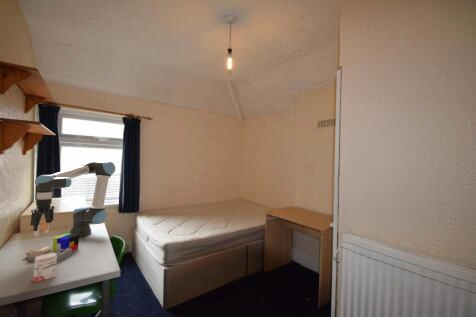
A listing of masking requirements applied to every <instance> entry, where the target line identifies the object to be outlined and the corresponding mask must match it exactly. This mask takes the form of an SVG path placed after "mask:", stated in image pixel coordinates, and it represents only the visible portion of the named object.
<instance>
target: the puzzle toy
mask: <svg viewBox="0 0 476 317" xmlns="http://www.w3.org/2000/svg"><path fill="white" fill-rule="evenodd" d="M69 233H70V232H69ZM69 233H65V234H61V235H58V236H55V237H53V240H52V249H51V251H61V250H69V249H72V252H73V251H75V250H78V249H79V240H80V237H79V235H77V234H69Z"/></svg>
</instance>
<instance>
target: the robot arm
mask: <svg viewBox="0 0 476 317" xmlns="http://www.w3.org/2000/svg"><path fill="white" fill-rule="evenodd" d="M115 172H116V165H115V164H114V162H112V161H109V160H92V161H89V162H85V163H82V164H80V165H79V166H76V167H73V168H69V169H66V170H62V171H59V172H55V173H53V174H41V175H39V176H37V177H36V178H35V180H34V184H35V185H36V201H35V205H36V208H35V209H31V215H30V222H29V223H30V224H29V225H30V226H33V236H34V237H38V236H40V231H39V230H40V225H39V222H41V219H42V217H43V215H44V220H45V222H47V223H48V227H47V229H45V230H44V231H43V233H46V234H47V233H50V226H51V223H52V222H53V221H54V214H55V213H54V211H55V206H54V205H51V204H52V203H53V202H52V201H53V200H52V198H53V191H54V190H53V189H66V188H69V187H71V186H72V179H74V178H76V177H80V176H82V175H84V176H85V175H90V174H94V175H95V177H96V182H95V187H94V193H93V198H92V203H91V206H83V207H78V208H75V209H73V213H72V226H71V229H70V231H69V234H77V235H79V238H82V237H83V238H84V237H87V236H89V235H91V234H92V229H91V225H90V224H92V225H101V224H103V223H104V222H105V221H106V220H107V217H108V212H107V210H106V207H105V200H106V195H107V188H108V184H109V179H110V178H111V177H112V175H113V174H114V173H115Z"/></svg>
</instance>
